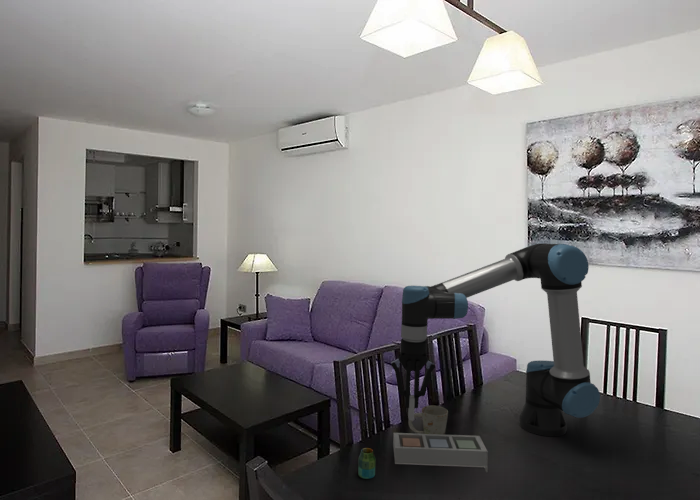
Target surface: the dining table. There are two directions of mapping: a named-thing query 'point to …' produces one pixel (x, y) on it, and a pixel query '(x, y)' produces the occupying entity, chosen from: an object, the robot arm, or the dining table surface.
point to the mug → (432, 420)
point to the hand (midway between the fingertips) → (411, 418)
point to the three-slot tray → (440, 451)
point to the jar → (366, 463)
